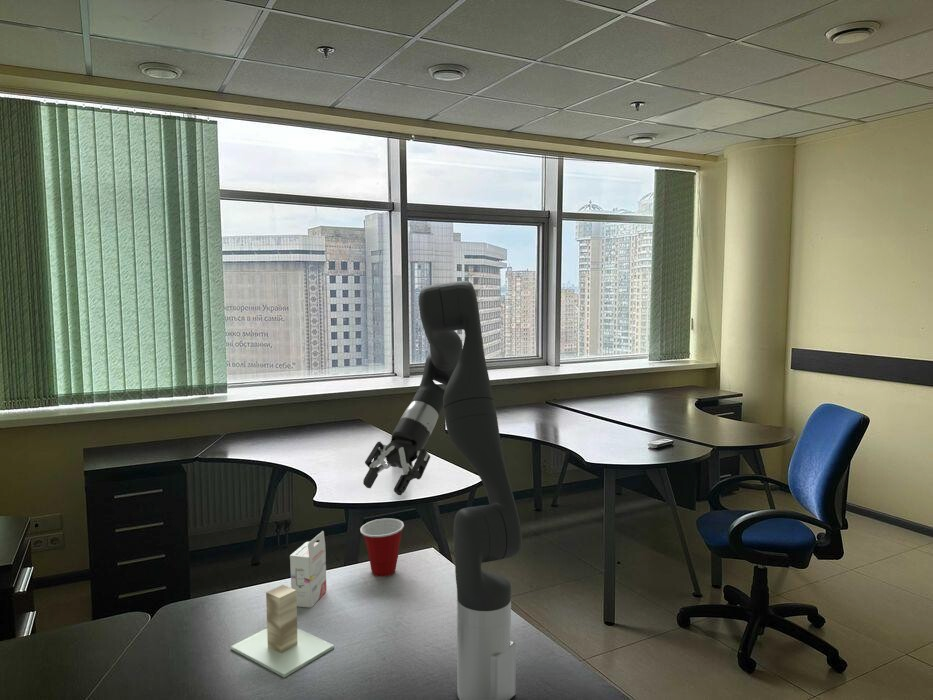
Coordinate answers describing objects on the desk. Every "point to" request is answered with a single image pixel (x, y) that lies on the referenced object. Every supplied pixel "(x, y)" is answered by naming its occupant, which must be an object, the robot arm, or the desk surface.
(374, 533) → the plastic cup
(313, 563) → the ink cartridge box
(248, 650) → the sage mat
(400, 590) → the desk surface
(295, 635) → the birch block
